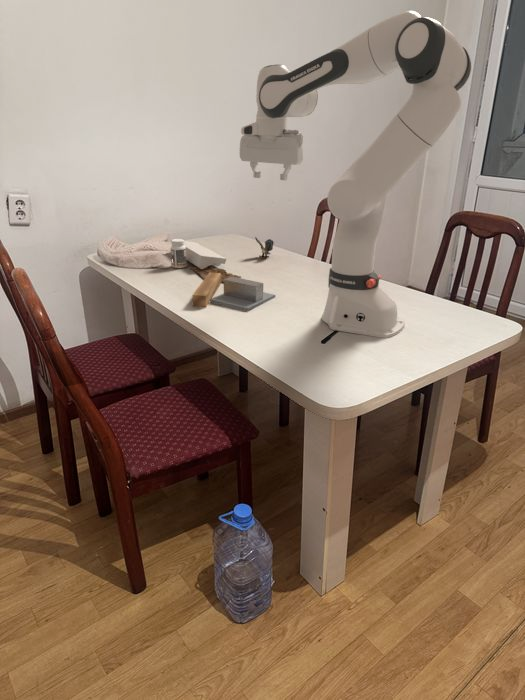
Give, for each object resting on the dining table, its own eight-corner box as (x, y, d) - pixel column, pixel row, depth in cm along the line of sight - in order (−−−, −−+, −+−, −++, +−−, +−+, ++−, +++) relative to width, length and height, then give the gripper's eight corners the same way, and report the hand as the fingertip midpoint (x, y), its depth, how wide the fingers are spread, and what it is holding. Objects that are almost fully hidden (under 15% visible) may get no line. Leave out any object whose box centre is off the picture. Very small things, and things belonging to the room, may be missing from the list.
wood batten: (221, 284, 173) (221, 273, 171) (206, 308, 151) (205, 295, 149) (209, 283, 173) (209, 272, 171) (192, 307, 151) (192, 295, 150)
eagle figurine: (253, 261, 200) (253, 238, 196) (255, 256, 206) (255, 234, 202) (273, 261, 199) (273, 238, 196) (273, 257, 206) (274, 234, 202)
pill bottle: (188, 264, 194) (187, 238, 189) (184, 268, 188) (183, 242, 184) (174, 264, 194) (172, 238, 190) (169, 268, 189) (168, 241, 185)
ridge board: (275, 298, 159) (275, 279, 157) (248, 312, 148) (248, 291, 145) (238, 290, 166) (238, 271, 164) (210, 302, 155) (209, 283, 152)
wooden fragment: (247, 280, 174) (247, 277, 174) (221, 289, 168) (221, 286, 168) (207, 264, 193) (206, 261, 192) (182, 271, 187) (181, 268, 186)
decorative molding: (193, 253, 216) (171, 250, 212) (195, 242, 215) (172, 239, 210) (224, 271, 188) (199, 268, 184) (226, 258, 187) (201, 255, 182)
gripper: (308, 130, 145) (305, 180, 151) (248, 127, 155) (248, 175, 161) (297, 130, 140) (295, 182, 146) (236, 128, 150) (236, 177, 156)
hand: (270, 178), depth 154 cm, fingers open, 8 cm apart
